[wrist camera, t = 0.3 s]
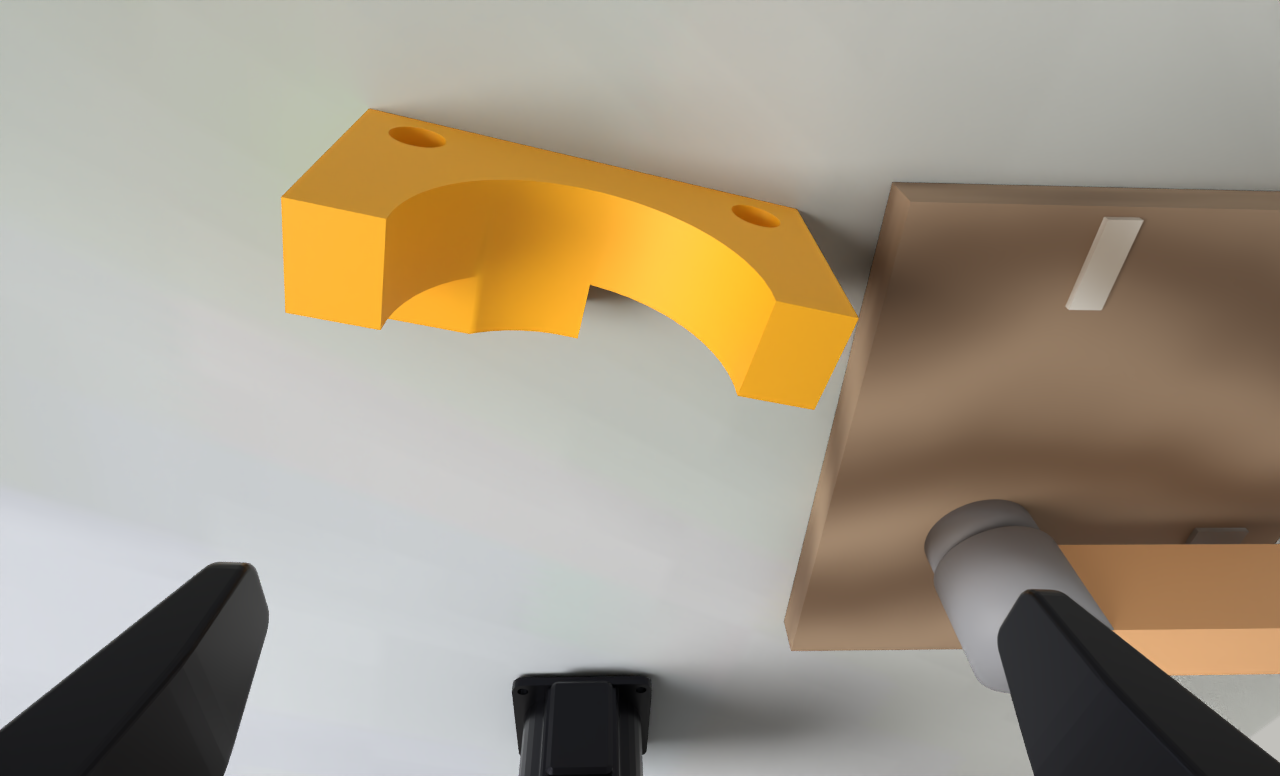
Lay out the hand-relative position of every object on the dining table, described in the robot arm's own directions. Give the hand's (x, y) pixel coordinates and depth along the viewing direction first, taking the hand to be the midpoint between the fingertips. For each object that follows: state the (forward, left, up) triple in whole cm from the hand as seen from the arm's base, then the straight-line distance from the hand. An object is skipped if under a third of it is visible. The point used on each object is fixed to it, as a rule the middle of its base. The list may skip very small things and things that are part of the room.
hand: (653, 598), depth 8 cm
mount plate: (-10, -17, -14) cm, 24 cm away
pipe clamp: (-2, +1, -15) cm, 15 cm away
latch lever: (-13, -19, -11) cm, 26 cm away
